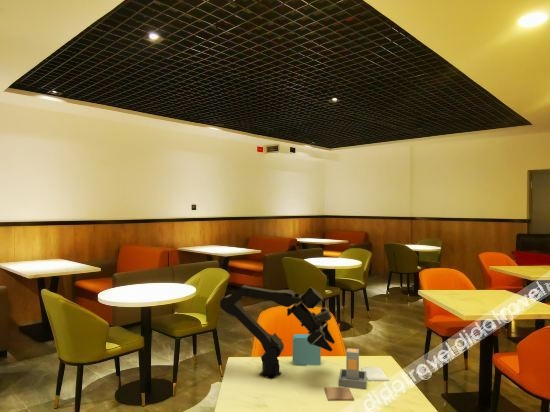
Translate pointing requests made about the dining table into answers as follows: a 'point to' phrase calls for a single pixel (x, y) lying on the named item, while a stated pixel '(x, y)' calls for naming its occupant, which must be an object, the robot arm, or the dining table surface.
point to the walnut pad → (338, 394)
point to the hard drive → (375, 374)
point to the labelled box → (352, 364)
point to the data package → (305, 351)
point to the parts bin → (352, 383)
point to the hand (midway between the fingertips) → (333, 346)
